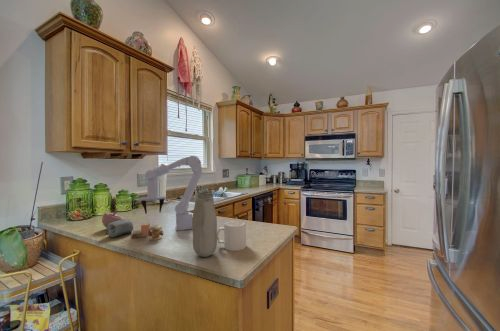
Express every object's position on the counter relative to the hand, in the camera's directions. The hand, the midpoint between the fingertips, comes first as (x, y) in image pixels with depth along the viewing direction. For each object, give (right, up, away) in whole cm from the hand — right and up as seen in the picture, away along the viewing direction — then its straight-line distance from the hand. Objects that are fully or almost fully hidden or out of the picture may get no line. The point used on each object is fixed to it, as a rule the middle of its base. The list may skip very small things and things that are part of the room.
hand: (153, 212), depth 140 cm
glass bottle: (+38, -10, -39) cm, 56 cm away
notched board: (+1, -10, -9) cm, 14 cm away
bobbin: (+8, -10, -16) cm, 21 cm away
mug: (+49, -10, -29) cm, 58 cm away
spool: (-14, -11, -9) cm, 20 cm away
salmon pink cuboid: (0, -10, -10) cm, 15 cm away
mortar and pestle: (-25, -10, +3) cm, 27 cm away
